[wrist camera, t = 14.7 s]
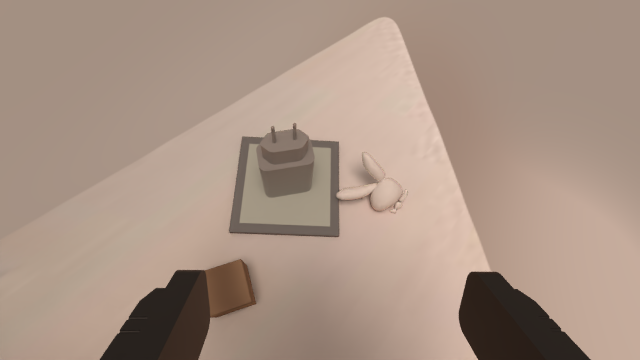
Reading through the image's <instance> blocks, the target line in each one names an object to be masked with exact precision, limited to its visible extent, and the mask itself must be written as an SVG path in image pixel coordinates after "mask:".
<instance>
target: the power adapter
mask: <svg viewBox="0 0 640 360" xmlns="http://www.w3.org/2000/svg"><path fill="white" fill-rule="evenodd" d="M271 131H272V132H271V133H268V134H267V135H266V136H265V137H264V138H263V140H262V141H261V142H260V144H259V145H258V146H257V148H256V153H257V159H258V166H259V170H260V174H261V178H262V182H263V186H264V190H265V194H266V195H267V196H268V197H270V198H274V197H280V196H286V195H291V194H297V193H303V192H308V191H309V190H310V189H311V186H312V177H313V168H314V160H315V156H314V152H313V147H312V143H311V141H310V139H309V137H308V135H306V134H305V133H303V132H302V131H301V130H299V129H296V123H294V124H293V129H292V130H285V131H278V132H275V130H274V126H272V127H271Z"/></svg>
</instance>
